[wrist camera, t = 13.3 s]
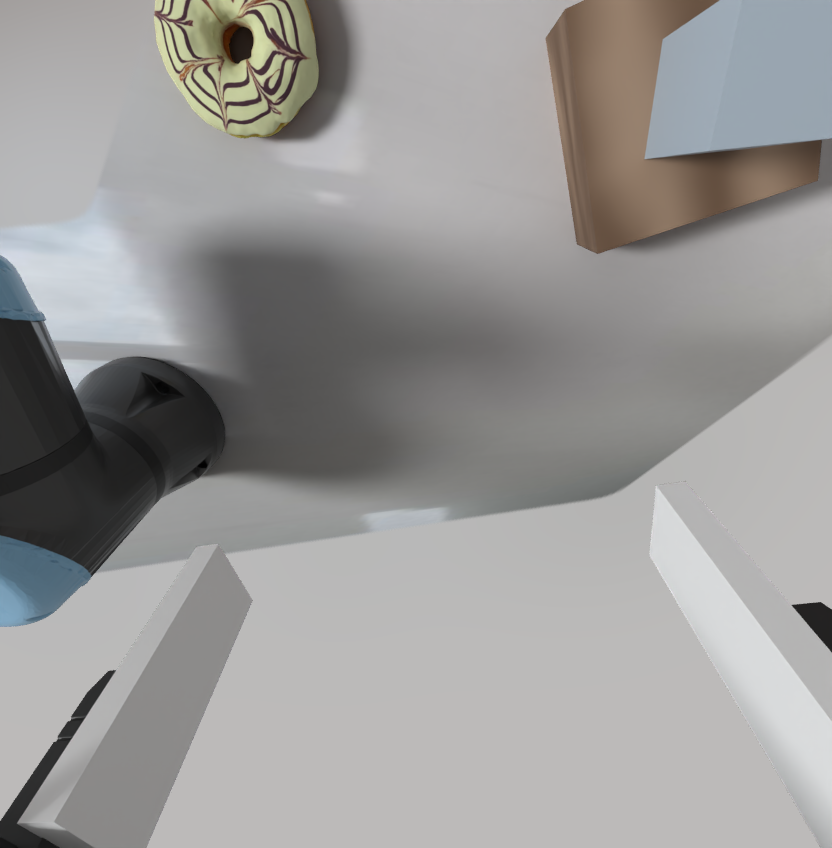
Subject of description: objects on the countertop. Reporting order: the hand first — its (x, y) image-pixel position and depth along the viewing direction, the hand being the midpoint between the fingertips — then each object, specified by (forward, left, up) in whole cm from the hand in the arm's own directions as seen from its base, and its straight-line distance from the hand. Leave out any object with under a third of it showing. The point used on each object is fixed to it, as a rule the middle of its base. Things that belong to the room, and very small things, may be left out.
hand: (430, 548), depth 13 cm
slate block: (+18, +11, -24) cm, 32 cm away
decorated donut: (-11, +20, -30) cm, 38 cm away
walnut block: (+18, +11, -30) cm, 37 cm away
